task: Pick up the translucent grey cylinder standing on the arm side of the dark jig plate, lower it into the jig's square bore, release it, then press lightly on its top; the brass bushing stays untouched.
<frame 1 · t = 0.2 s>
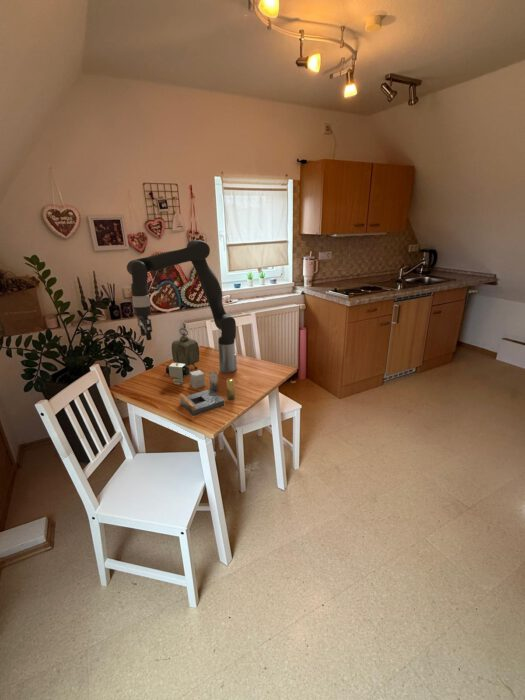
hand: (146, 337, 156), 29 cm above the table, fingers open, 8 cm apart
jig: (202, 404, 153), on the table
pneumatic valve: (179, 383, 174), on the table
skincare box: (197, 385, 172), on the table
brass bushing: (231, 398, 158), on the table
olive green lantern: (186, 368, 192), on the table
translucent grey cylinder: (214, 391, 166), on the table
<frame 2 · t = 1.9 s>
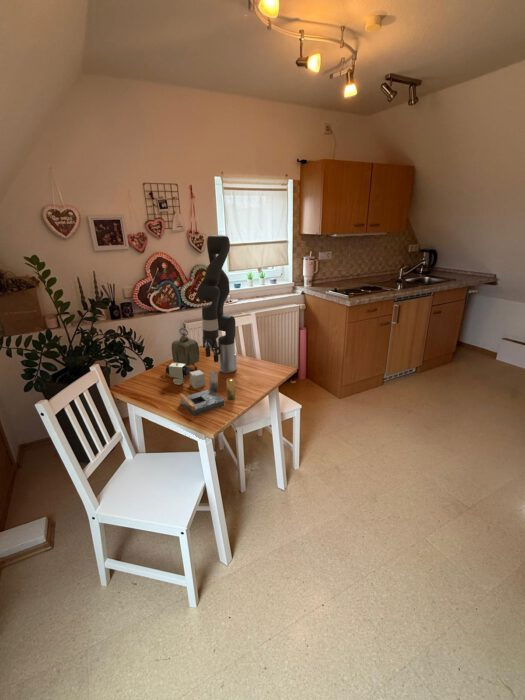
hand: (212, 359, 159), 18 cm above the table, fingers open, 8 cm apart
nothing on the table moved.
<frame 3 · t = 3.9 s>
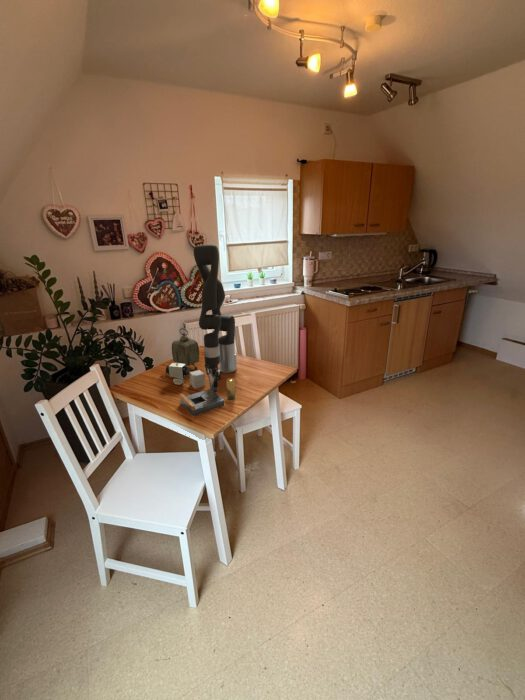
hand: (213, 385, 164), 3 cm above the table, fingers closed on translucent grey cylinder, 4 cm apart
translucent grey cylinder: (214, 391, 166), on the table, touching gripper
everything else where it was.
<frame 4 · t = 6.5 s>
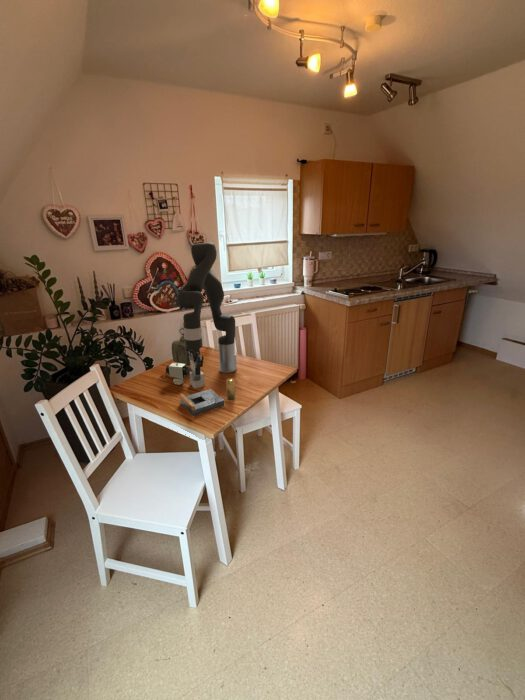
hand: (195, 372, 146), 17 cm above the table, fingers closed on translucent grey cylinder, 4 cm apart
translucent grey cylinder: (196, 379, 147), point 14 cm above the table, touching gripper
everything else where it was.
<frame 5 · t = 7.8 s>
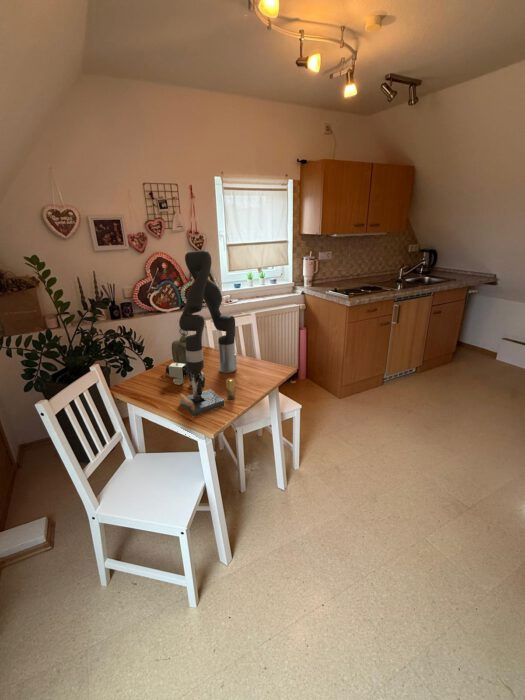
hand: (197, 392, 149), 7 cm above the table, fingers closed on translucent grey cylinder, 4 cm apart
translucent grey cylinder: (197, 398, 150), point 4 cm above the table, touching gripper
everything else where it was.
when the fingers open (4 cm above the table, at t = 9.1 s): translucent grey cylinder stays where it is, resting in jig.
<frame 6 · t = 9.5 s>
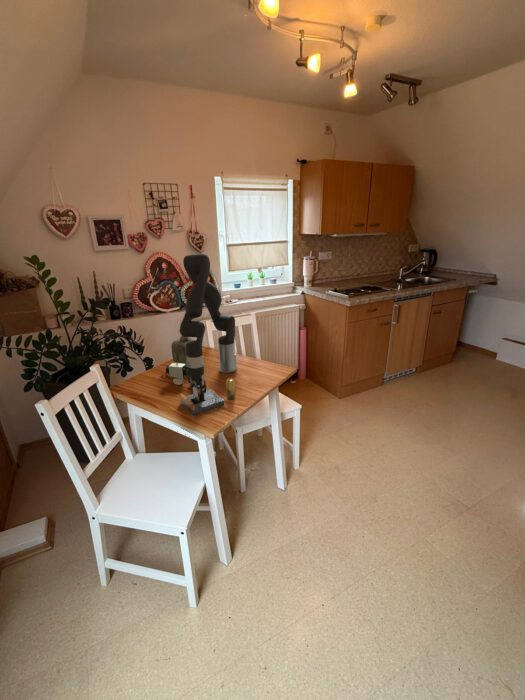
hand: (197, 396, 150), 5 cm above the table, fingers open, 8 cm apart
translucent grey cylinder: (198, 405, 152), resting in jig
everything else where it was.
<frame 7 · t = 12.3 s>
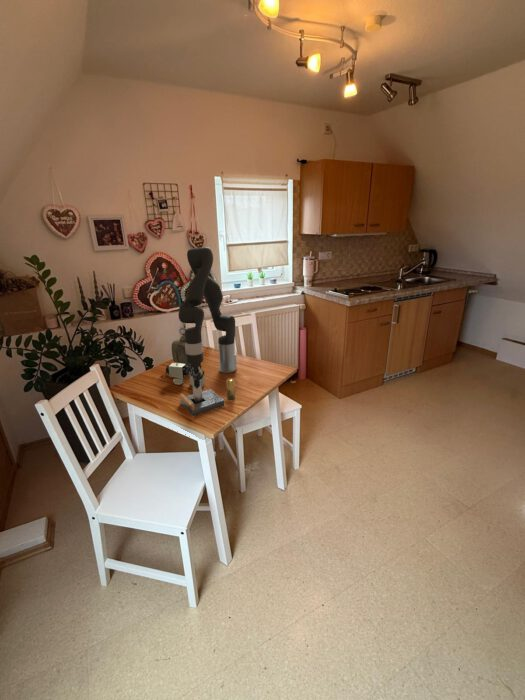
hand: (197, 386, 148), 10 cm above the table, fingers closed
nothing on the table moved.
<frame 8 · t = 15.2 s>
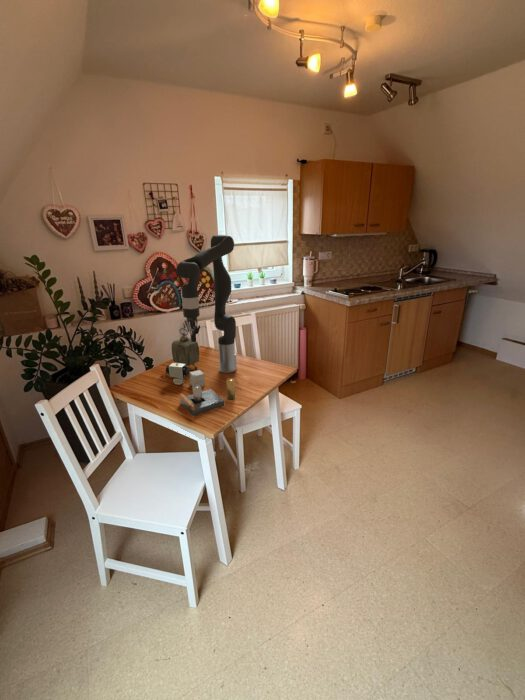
hand: (193, 341, 156), 27 cm above the table, fingers closed
nothing on the table moved.
at the end: translucent grey cylinder 0.0 cm from the target spot on the jig, point 0.0 cm above the jig's base; translucent grey cylinder tilted 1°; the gripper is holding nothing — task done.
